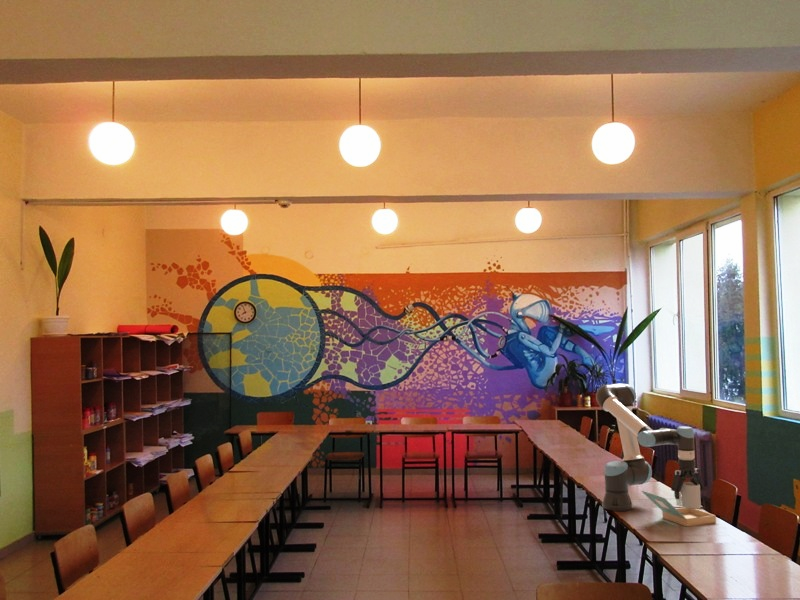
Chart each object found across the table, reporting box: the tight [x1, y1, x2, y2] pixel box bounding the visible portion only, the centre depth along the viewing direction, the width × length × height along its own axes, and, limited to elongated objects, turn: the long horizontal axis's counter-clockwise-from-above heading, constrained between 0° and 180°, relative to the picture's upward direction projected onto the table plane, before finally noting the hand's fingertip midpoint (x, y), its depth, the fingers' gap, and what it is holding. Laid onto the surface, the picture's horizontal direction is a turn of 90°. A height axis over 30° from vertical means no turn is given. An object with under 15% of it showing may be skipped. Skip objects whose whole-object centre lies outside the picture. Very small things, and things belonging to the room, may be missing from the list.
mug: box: [673, 481, 702, 510], centre depth 333 cm, size 12×8×11 cm
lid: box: [641, 490, 685, 519], centre depth 328 cm, size 16×16×1 cm
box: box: [661, 507, 717, 528], centre depth 333 cm, size 17×17×4 cm
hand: (688, 504), depth 333 cm, fingers closed on mug, 10 cm apart
